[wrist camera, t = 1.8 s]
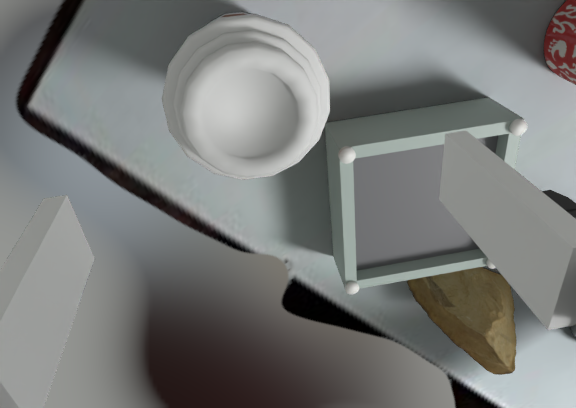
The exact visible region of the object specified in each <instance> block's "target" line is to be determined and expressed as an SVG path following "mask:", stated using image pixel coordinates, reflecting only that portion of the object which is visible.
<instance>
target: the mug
mask: <svg viewBox="0 0 576 408" xmlns="http://www.w3.org/2000/svg"><path fill="white" fill-rule="evenodd" d="M544 56H545V60H546V63H547V64H548V66H549V68H550V69H551V70H552V71H553V72H554V73H555V74H557V75H558V76H560V77H562V78H564V79H566V80H567V81H569V82H571V83H573V84H575V85H576V0H566V1H565V2H564V4H563V5H562V6H561V7H560V8H559V9H558V11H557V12H556V14H555V15H554V17H553V18H552V20H551V22H550V24H549V26H548V29H547V32H546V35H545V40H544Z"/></svg>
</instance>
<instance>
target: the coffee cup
mask: <svg viewBox="0 0 576 408" xmlns="http://www.w3.org/2000/svg"><path fill="white" fill-rule="evenodd" d="M162 102H163V106H164V111H165V115H166V119H167V124H168V128H169V131H170V133H171V134H172V136H173V137H174V138H175V140H176V141H177V143H178V144H179V145H180V147H181V148H182V149H183V151H184V152H185V154H186V155H187V156H188V157H189V158H191V159H192V160H194V161H195V162H197V163H198V164H200V165H201V166H203V167H205V168H206V169H208V170H209V171H211V172H212V173H214V174H218V175H223V176H228V177H232V178H237V179H242V180H246V179H254V178H261V177H268V176H274V175H275V174H277V173H279V172H281V171H283V170H285V169H287V168H289V167H291V166H293V165H295V164H297V163H298V162H300V161H301V159H302V158H303V157H304V156H305V155H306V154H307V153H308V152H309V151H310V149H311V148H312V147H313V146H314V145H315V144H316V143H317V142H318V141H319V139H320V136H321V134H322V131H323V128H324V126H325V123H326V121H327V118H328V115H329V113H330V88H329V78H328V76H327V74H326V71H325V69H324V67H323V65H322V63H321V60H320V58H319V56H318V54H317V52H316V50H315V48H314V47H313V46H312V45H310V44H309V43H308V42H307V41H306V40H305V39H304V38H303V37H301V36H300V35H299V34H298V33H297V32H296V31H295V30H294V29H293V28H291V27H290V26H289V25H288V24H285V23H282V22H279V21H276V20H272V19H269V18H266V17H263V16H260V15H257V14H247V13H244V12H236V13H226V14H223V15H221V16H219V17H218V18H216V19H214V20H213V21H211V22H209V23H208V24H207V25H206V26H204V27H202V28H201V29H199V30H197V31H195V32H194V33H192V34H190V35H189V36H188V37H187V39H186V40H185V42H184V43H183V44H182V46H181V47H180V49H179V50H178V52H177V53H176V54H175V56H174V57H173V59H172V60H171V61H170V63H169V65H168V70H167V75H166V81H165V86H164V91H163V96H162Z"/></svg>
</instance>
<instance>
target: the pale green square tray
mask: <svg viewBox="0 0 576 408" xmlns="http://www.w3.org/2000/svg"><path fill="white" fill-rule="evenodd" d="M527 127H528V125H527V122H525V121H524V119H523V118H522V117H520V116H519V115H517V114H515V113H514V112H512V111H510V110H509V109H507V108H506V107H504V106H502V105H501V104H499V103H497V102H496V101H494V100H493V99H491V98H489V97H488V98H481V99H475V100H469V101H462V102H456V103H449V104H443V105H437V106H430V107H424V108H417V109H411V110H405V111H398V112H392V113H385V114H379V115H373V116H366V117H360V118H353V119H347V120H341V121H334V122H328V123H325V138H326V153H327V168H328V184H329V199H330V214H331V229H332V245H333V257H334V260H335V262H336V265H337V268H338V271H339V273H340V276H341V279H342V282H343V284H344V287H345V290H346V292H347V293H348V294H355V293H357V292H358V291H359V289H361V288H367V287H372V286H378V285H383V284H389V283H395V282H400V281H406V280H411V279H417V278H422V277H428V276H433V275H439V274H444V273H450V272H455V271H461V270H466V269H472V268H477V267H483V266H488V267H489V268H491V269H494V268H496V267H495V266H494V265H493V264H492V262H491V261H490V260H489V259H488V258H487V256H486V255H485V254H484V253H483V252H482V250H481V249H480V248H479V247H478V246H477V244H476V243H475V242H474V241H473V240H472V238H471V237H470V236H469V235H468V234H467V232H466V231H465V230H464V229H463V228H462V226H461V225H460V224H459V223H458V222H457V220H456V219H455V218H454V217H453V216H452V214H451V213H450V212H449V211H448V210H447V208H446V207H445V206H444V205H443V204H442V202H441V201H440V200H439V196H440V185H441V175H442V164H443V153H444V143H445V134H447V133H454V132H460V131H467V132H469V133H470V134H471V135H472V136H474V137H475V138H476V139H477V140H479V141H480V142H481V143H482V144H483V145H485V146H486V147H487V148H488V149H490V150H491V151H492V152H493V153H495V154H496V155H497V156H498V157H500V158H501V159H502V160H503V161H505V162H506V163H507V164H508V165H510V166H511V167H512V168H513V169H514V170H515V165H516V160H517V154H518V149H519V144H520V138H521V135H522V134H523V133H524V132H525V131H526V130H527Z"/></svg>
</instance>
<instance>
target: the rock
mask: <svg viewBox="0 0 576 408" xmlns="http://www.w3.org/2000/svg"><path fill="white" fill-rule="evenodd" d="M407 283H408V285H409V288H410V290H411V291H412V293H413V297H414V298H415V300H416V301H417V302H418V303H419V304H420V305H421V306H422V308H423V309H424V310H425V311H426V313H427V314H428V316H429V318H430V319H431V320H432V321H433V322H434V323H435V324H436V325H437V326H438V327H440V329H441V330H442V331H443V332H444V333H445V334H446V335H447V336H448V337H449V338H450V339H451V340H452V341H453V342H454V343H455V344H456V345H457V346H458V347H460V348H462V349H463V350H464V351H465V352H466V353H468V354H469V355H470V356H471V357H472V358H473V359H474V360H475V361H477V362H478V363H479V364H480V365H482V366H483V367H484V368H485V369H486V370H487V371H489V372H491V373H493V374H509V373H512V372H513V371H514V370H515V355H516V333H515V323H514V315H513V314H514V310H515V308H514V300H513V297H512V293H511V287H510V285H509V284H508V282H507V280H506V279H505V278H504V277H503V276H502V275H500V274H498V273H495V272H491V271H490V270H488V269H484V268H483V267H477V268H472V269H466V270H461V271H455V272H450V273H444V274H439V275H433V276H428V277H422V278H417V279H411V280H408V281H407Z"/></svg>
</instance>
